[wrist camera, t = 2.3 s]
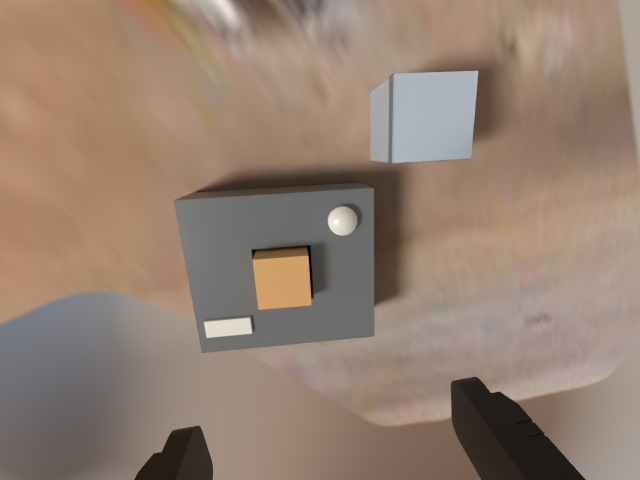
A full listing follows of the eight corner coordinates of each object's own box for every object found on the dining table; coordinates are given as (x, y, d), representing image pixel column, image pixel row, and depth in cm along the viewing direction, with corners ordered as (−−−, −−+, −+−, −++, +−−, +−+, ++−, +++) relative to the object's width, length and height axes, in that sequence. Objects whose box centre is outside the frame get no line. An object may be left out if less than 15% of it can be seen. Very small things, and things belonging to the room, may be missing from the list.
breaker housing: (215, 323, 33) (200, 357, 27) (193, 192, 29) (170, 201, 23) (362, 310, 34) (375, 339, 28) (360, 182, 30) (375, 188, 25)
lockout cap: (370, 161, 30) (393, 163, 23) (369, 92, 28) (394, 72, 21) (431, 157, 30) (471, 159, 23) (434, 89, 28) (479, 69, 22)
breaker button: (263, 285, 30) (258, 309, 25) (258, 242, 29) (252, 259, 24) (308, 281, 30) (311, 305, 26) (305, 239, 29) (308, 255, 24)
